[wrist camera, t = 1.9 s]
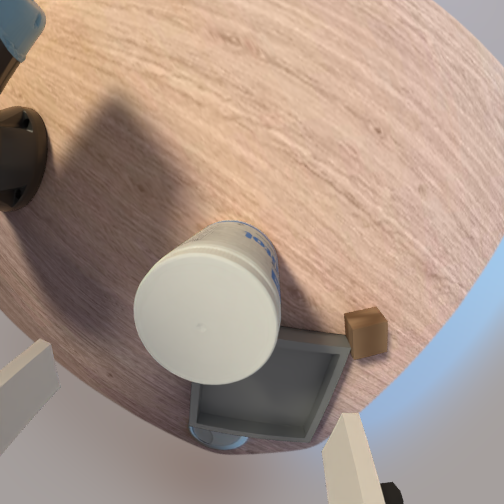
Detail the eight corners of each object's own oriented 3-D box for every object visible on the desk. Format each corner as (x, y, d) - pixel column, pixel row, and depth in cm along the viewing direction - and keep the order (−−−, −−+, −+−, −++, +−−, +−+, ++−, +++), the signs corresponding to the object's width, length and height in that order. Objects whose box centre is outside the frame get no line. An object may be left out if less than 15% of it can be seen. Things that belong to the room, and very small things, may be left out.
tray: (193, 411, 37) (188, 425, 34) (202, 312, 33) (197, 324, 30) (307, 428, 37) (309, 442, 34) (345, 334, 32) (351, 347, 30)
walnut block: (345, 341, 33) (353, 359, 29) (344, 313, 32) (352, 329, 28) (376, 334, 32) (387, 351, 29) (375, 306, 32) (387, 321, 28)
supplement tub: (296, 267, 31) (316, 338, 17) (231, 319, 33) (207, 408, 18) (234, 198, 29) (202, 215, 15) (171, 257, 31) (105, 314, 17)
